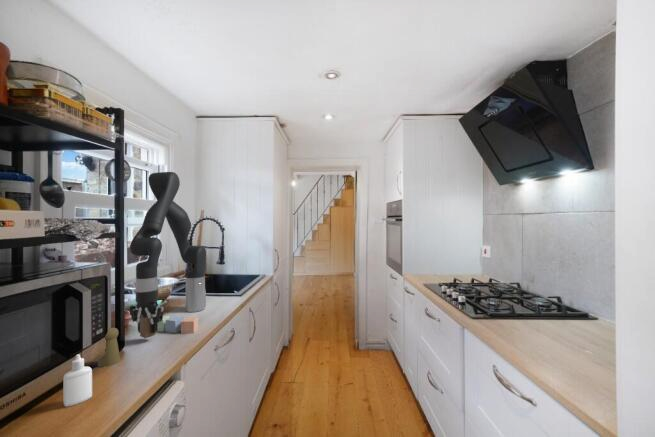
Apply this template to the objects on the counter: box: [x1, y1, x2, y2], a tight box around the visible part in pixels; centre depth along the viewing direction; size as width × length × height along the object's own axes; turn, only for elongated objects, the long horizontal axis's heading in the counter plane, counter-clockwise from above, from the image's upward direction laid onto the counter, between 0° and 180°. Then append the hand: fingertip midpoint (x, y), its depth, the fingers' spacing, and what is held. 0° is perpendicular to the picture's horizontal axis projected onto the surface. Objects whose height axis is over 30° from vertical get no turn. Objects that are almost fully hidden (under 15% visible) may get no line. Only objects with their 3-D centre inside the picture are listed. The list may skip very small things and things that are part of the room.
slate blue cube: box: [165, 315, 185, 334], centre depth 125 cm, size 5×5×5 cm
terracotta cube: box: [180, 317, 199, 335], centre depth 124 cm, size 5×5×5 cm
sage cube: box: [157, 315, 171, 332], centre depth 126 cm, size 5×5×5 cm
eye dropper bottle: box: [62, 353, 93, 407], centre depth 76 cm, size 4×6×12 cm
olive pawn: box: [97, 327, 121, 368], centre depth 97 cm, size 6×6×11 cm
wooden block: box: [139, 314, 156, 339], centre depth 114 cm, size 4×4×8 cm
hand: (147, 332), depth 114 cm, fingers closed on wooden block, 5 cm apart
